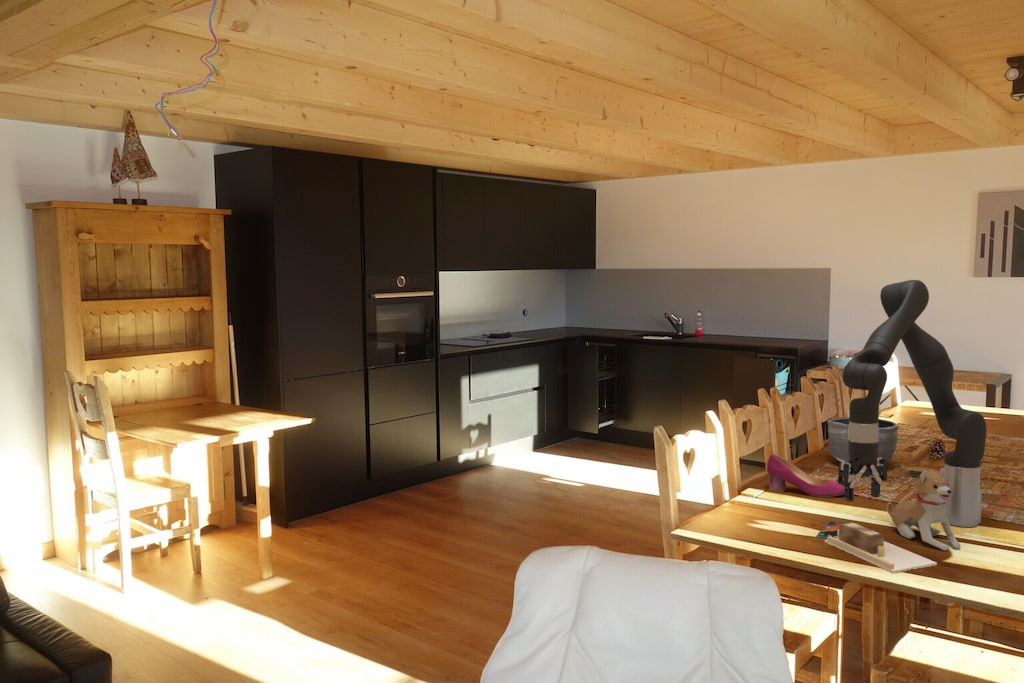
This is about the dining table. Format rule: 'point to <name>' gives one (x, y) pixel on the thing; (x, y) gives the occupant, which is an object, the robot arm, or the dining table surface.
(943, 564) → the dining table surface
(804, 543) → the dining table surface
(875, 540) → the brown rectangular block
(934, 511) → the toy
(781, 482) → the high heel
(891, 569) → the wall board
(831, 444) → the tea bowl
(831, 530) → the smartphone
